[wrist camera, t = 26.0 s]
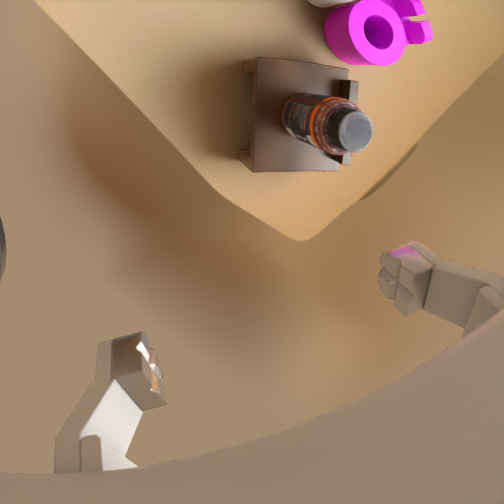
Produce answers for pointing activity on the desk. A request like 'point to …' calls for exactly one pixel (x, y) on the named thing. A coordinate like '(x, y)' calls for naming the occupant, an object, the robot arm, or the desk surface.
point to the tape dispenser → (375, 30)
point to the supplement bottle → (327, 123)
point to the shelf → (271, 106)
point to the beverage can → (328, 2)
